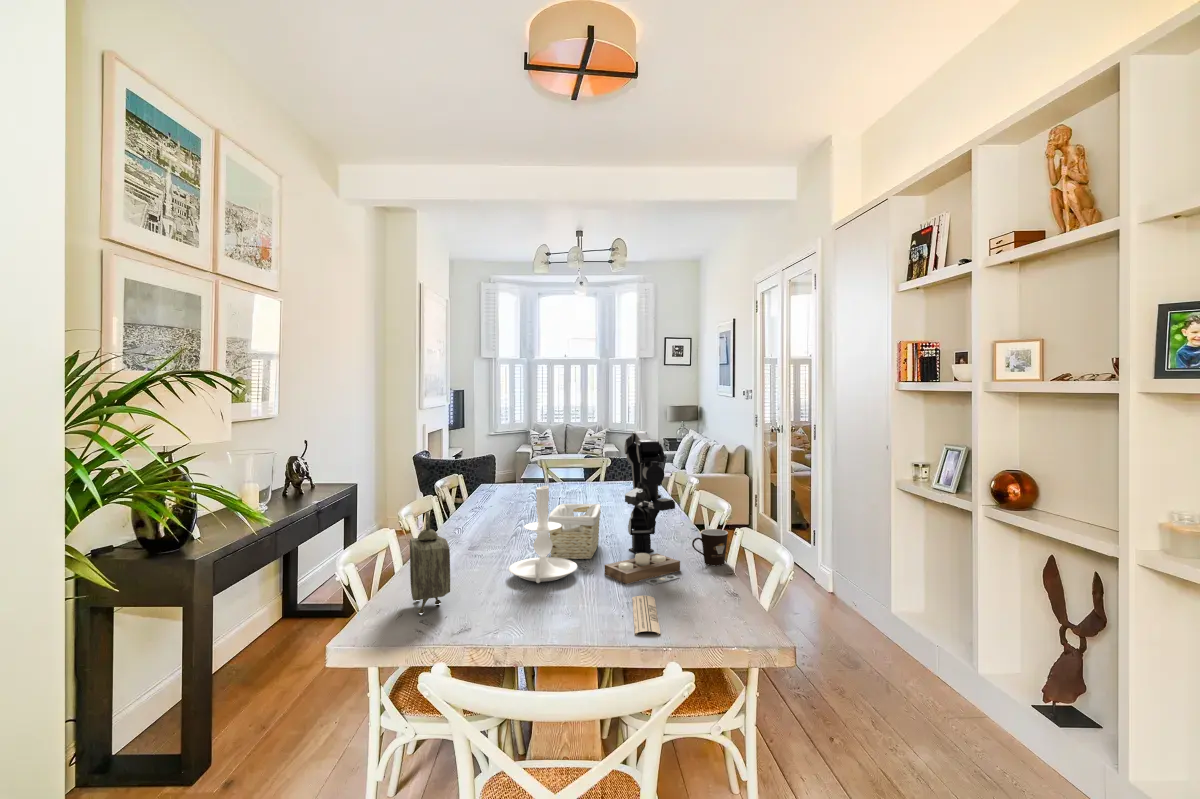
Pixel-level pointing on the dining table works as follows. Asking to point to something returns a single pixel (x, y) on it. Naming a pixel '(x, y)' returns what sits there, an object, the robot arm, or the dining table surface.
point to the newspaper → (645, 614)
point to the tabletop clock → (429, 566)
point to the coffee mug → (713, 546)
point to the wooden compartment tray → (641, 570)
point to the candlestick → (542, 548)
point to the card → (661, 579)
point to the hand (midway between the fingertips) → (649, 527)
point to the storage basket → (575, 531)
